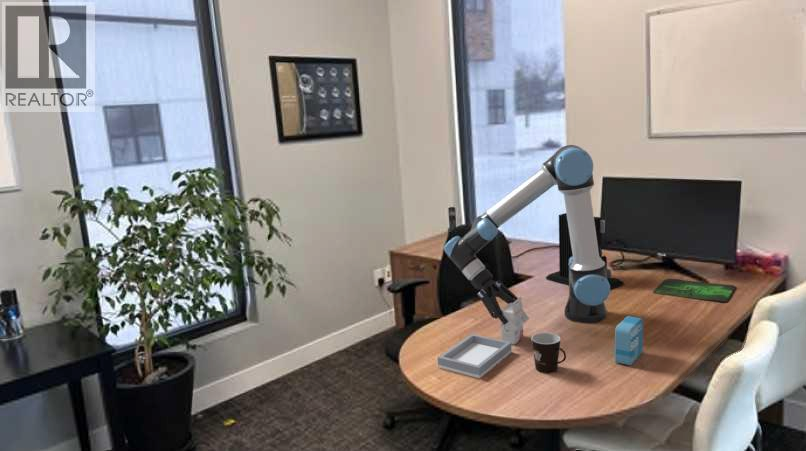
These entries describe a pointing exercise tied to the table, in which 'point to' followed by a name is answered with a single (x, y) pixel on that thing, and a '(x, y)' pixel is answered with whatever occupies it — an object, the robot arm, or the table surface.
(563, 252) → the ribbed black tower
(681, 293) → the mouse mat
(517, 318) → the ink cartridge box
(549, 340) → the coffee mug
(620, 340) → the data package
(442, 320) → the table surface
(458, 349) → the docking bay
